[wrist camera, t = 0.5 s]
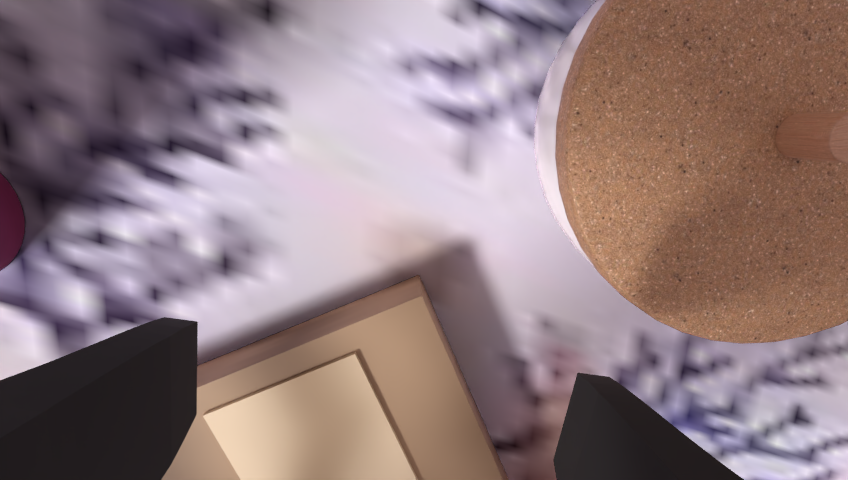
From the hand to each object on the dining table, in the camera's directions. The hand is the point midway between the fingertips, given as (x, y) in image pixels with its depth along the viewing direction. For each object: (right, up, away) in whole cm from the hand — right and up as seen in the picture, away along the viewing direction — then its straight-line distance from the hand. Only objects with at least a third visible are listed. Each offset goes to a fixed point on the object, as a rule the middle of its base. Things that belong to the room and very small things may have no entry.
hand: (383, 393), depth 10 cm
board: (-2, -9, +13) cm, 16 cm away
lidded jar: (+9, +7, +10) cm, 15 cm away
